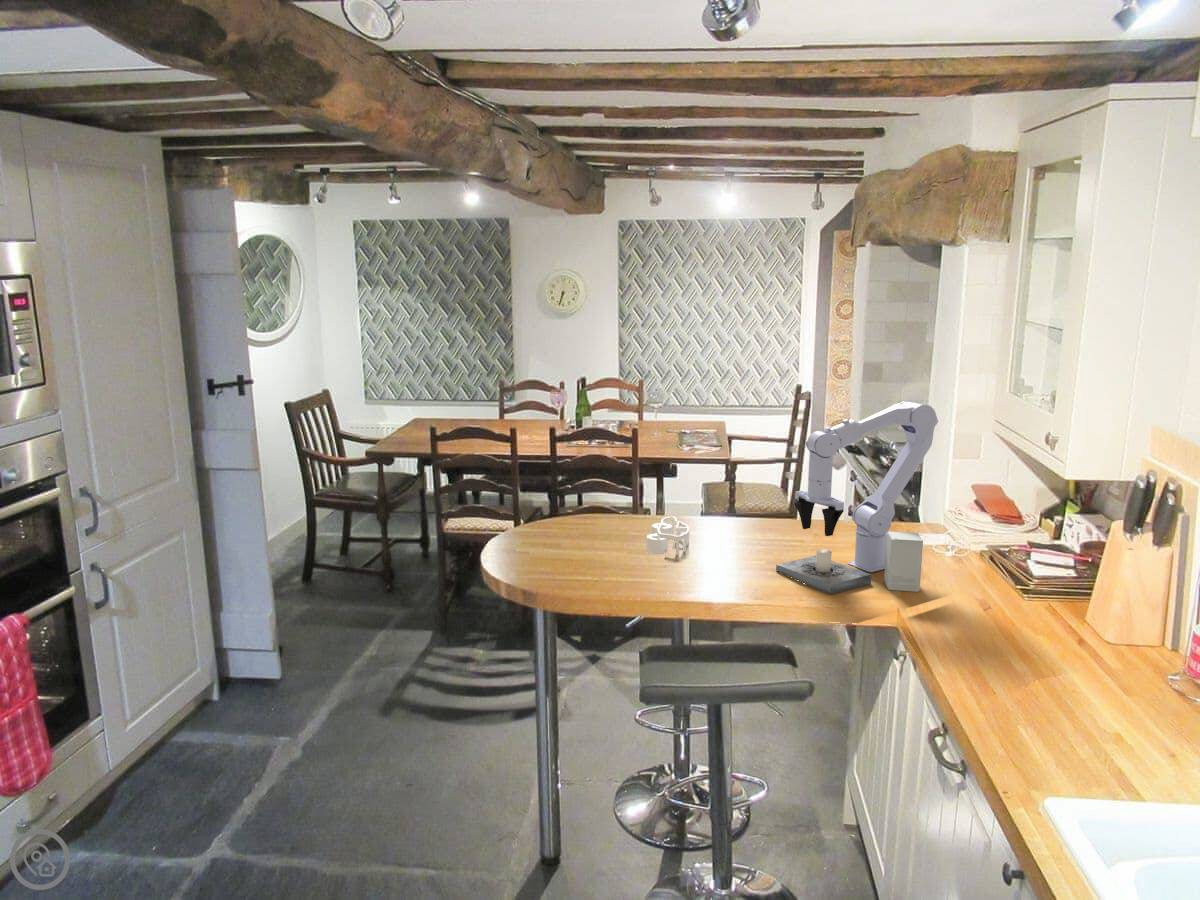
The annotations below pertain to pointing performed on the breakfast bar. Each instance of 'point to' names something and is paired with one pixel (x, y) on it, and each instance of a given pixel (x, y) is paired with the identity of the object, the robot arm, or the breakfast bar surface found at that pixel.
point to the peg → (823, 561)
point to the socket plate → (825, 575)
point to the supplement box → (903, 561)
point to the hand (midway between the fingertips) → (817, 531)
